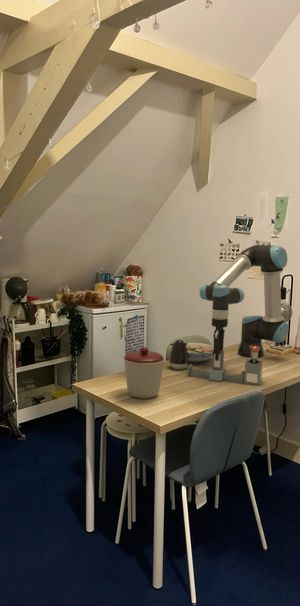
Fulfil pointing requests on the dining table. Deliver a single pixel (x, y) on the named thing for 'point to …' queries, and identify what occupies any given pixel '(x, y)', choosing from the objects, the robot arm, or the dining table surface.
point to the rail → (206, 374)
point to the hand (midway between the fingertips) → (217, 365)
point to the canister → (143, 372)
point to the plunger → (254, 353)
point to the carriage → (217, 368)
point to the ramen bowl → (199, 351)
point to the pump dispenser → (179, 355)
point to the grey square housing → (253, 372)
